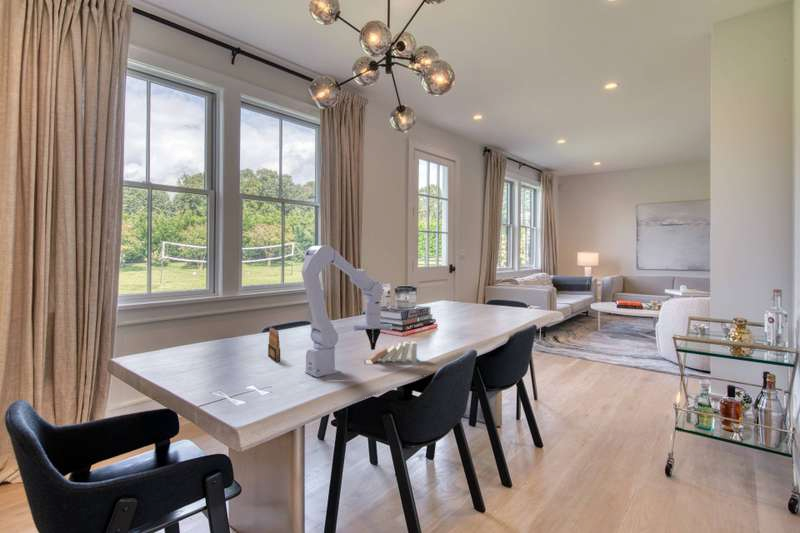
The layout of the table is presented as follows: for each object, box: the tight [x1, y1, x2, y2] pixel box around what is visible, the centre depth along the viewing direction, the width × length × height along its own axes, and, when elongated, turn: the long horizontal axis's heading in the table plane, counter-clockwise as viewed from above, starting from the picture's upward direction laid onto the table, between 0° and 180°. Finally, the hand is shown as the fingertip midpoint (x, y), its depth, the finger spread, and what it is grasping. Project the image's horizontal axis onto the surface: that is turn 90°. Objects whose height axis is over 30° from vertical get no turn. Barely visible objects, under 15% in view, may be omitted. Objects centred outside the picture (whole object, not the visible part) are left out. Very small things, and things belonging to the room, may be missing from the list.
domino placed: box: [369, 346, 388, 363], centre depth 154 cm, size 2×4×7 cm
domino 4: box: [410, 340, 418, 362], centre depth 156 cm, size 2×4×7 cm, turn 8°
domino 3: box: [399, 340, 411, 362], centre depth 156 cm, size 2×4×7 cm, turn 8°
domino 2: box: [389, 342, 405, 362], centre depth 155 cm, size 2×4×7 cm
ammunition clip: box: [267, 326, 281, 363], centre depth 159 cm, size 11×2×12 cm, turn 33°
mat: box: [363, 357, 421, 366], centre depth 155 cm, size 21×7×1 cm, turn 98°
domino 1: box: [380, 344, 397, 363], centre depth 155 cm, size 2×4×7 cm
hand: (372, 349), depth 154 cm, fingers closed
